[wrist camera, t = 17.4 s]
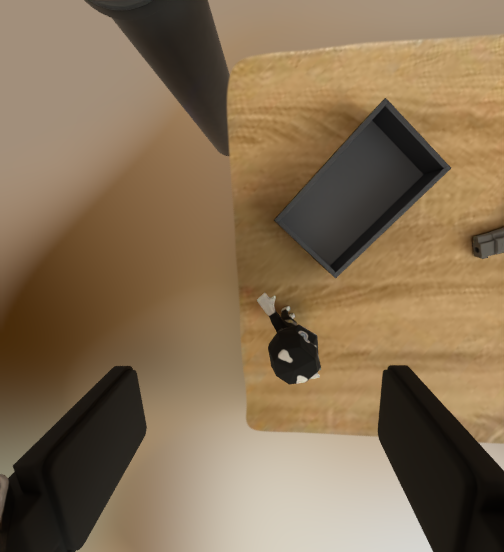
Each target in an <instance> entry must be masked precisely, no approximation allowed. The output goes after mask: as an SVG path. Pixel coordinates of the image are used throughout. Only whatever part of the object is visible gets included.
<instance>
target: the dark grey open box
mask: <svg viewBox="0 0 504 552" xmlns="http://www.w3.org/2000/svg"><path fill="white" fill-rule="evenodd" d="M450 169H451V167H450V166H449V165H448V164H447V163H446V162H445V161H444V160H443V159H442V158H441V157H440V155H439V154H438V153H437V152H436V151H435V150H434V149H433V148H432V147H431V146H430V145H429V144H428V143H427V142H426V141H425V139H424V138H423V137H422V136H421V135H420V134H419V133H418V132H417V131H416V130H415V129H414V128H413V127H412V126H411V124H410V123H409V122H408V121H407V120H406V119H405V118H404V117H403V116H402V115H401V114H400V113H399V112H398V111H397V110H396V108H395V107H394V106H393V105H392V104H391V103H390V102H389V101H388V100H387V99H386V98H385V99H384V100H383V101H382V102H381V103H380V104H379V105H378V106H377V107H376V108H375V109H374V110H373V111H372V113H371V114H370V115H369V116H368V117H367V118H366V119H365V120H364V121H363V122H362V124H361V125H360V126H359V127H358V128H357V129H356V130H355V131H354V132H353V133H352V135H351V136H350V137H349V138H348V139H347V140H346V141H345V142H344V143H343V144H342V146H341V147H340V148H339V149H338V150H337V151H336V152H335V153H334V154H333V155H332V157H331V158H330V159H329V160H328V161H327V162H326V163H325V164H324V165H323V167H322V168H321V169H320V170H319V171H318V172H317V173H316V174H315V175H314V176H313V178H312V179H311V180H310V181H309V182H308V183H307V184H306V185H305V186H304V187H303V189H302V190H301V191H300V192H299V193H298V194H297V195H296V196H295V197H294V198H293V200H292V201H291V202H290V203H289V204H288V205H287V206H286V207H285V208H284V209H283V211H282V212H281V213H280V214H279V215H278V216H277V217H276V218H275V219H274V221H275V222H276V223H277V224H278V225H279V226H281V227H282V228H283V229H284V230H285V231H286V232H287V233H288V234H289V235H290V236H291V237H292V238H293V239H294V240H295V241H296V242H298V243H299V244H300V245H301V246H302V247H303V248H304V249H305V250H306V251H307V252H308V253H309V254H310V255H311V256H312V257H313V258H314V259H316V260H317V261H318V262H319V263H320V264H321V265H322V266H323V267H324V268H325V269H326V270H327V271H328V272H329V273H330V274H331V275H333V276H334V277H335V278H337V277H338V276H339V275H340V274H341V273H342V272H343V271H344V270H345V269H346V268H347V267H348V266H349V265H350V264H351V263H352V262H353V261H354V260H355V259H356V258H358V257H359V256H360V255H361V254H362V253H363V252H364V251H365V250H366V249H367V248H368V247H369V246H370V245H371V244H372V243H373V242H374V241H375V240H376V239H377V238H379V237H380V236H381V235H382V234H383V233H384V232H385V231H386V230H387V229H388V228H389V227H390V226H391V225H392V224H393V223H394V222H395V221H396V220H397V219H398V218H399V217H401V216H402V215H403V214H404V213H405V212H406V211H407V210H408V209H409V208H410V207H411V206H412V205H413V204H414V203H415V202H416V201H417V200H418V199H419V198H420V197H422V196H423V195H424V194H425V193H426V192H427V191H428V190H429V189H430V188H431V187H432V186H433V185H434V184H435V183H436V182H437V181H438V180H439V179H440V178H441V177H443V176H444V175H445V174H446V173H447V172H448V171H449V170H450Z"/></svg>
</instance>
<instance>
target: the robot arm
mask: <svg viewBox="0 0 504 552" xmlns="http://www.w3.org/2000/svg"><path fill="white" fill-rule="evenodd" d="M146 428H147V427H146V421H145V415H144V410H143V404H142V400H141V394H140V388H139V383H138V378H137V373H136V371H135V370H133V368H132V367H131V366H115V367H113V368H112V369H111V370H110V371H109V372H108V373H107V374H106V375H105V376H104V377H103V378H102V379H101V380H100V381H99V382H98V383H97V384H96V385H95V386H94V387H93V388H92V389H91V390H90V391H89V392H88V393H87V394H86V395H85V396H84V397H82V399H80V400H79V401H78V402H77V403H76V404H75V405H74V406H73V407H72V408H71V409H70V410H69V411H68V412H67V413H66V414H65V415H64V416H63V417H62V418H61V419H60V420H59V421H58V422H57V423H56V424H55V425H54V426H53V427H52V428H51V429H50V430H49V431H48V432H47V433H46V434H45V435H44V436H43V437H42V438H41V439H40V440H39V441H38V442H37V443H36V444H35V445H33V446H32V447H31V449H29V451H27V452H26V453H25V454H24V455H23V456H22V457H21V458H20V459H19V460H18V461H17V462H16V463H15V464H14V465H13V468H14V471H15V472H14V473H13V474H12V475H11V476H10V477H9V478H7V477H6V476H5V475H1V474H0V552H75V551H76V550H79V549H80V548H81V547H82V546H83V545H84V543H85V542H86V540H87V538H88V536H89V534H90V533H91V531H92V529H93V527H94V526H95V524H96V522H97V520H98V518H99V517H100V515H101V513H102V511H103V509H104V507H105V506H106V504H107V502H108V501H109V499H110V497H111V495H112V494H113V492H114V490H115V488H116V486H117V485H118V483H119V481H120V479H121V478H122V476H123V474H124V472H125V470H126V469H127V467H128V465H129V463H130V462H131V460H132V458H133V456H134V454H135V453H136V451H137V449H138V447H139V446H140V444H141V442H142V440H143V438H144V436H145V434H146ZM378 436H379V440H380V442H381V445H382V447H383V449H384V451H385V453H386V455H387V457H388V459H389V461H390V463H391V465H392V467H393V469H394V472H395V474H396V476H397V477H398V480H399V482H400V484H401V486H402V488H403V490H404V492H405V494H406V496H407V498H408V501H409V503H410V505H411V507H412V509H413V511H414V513H415V515H416V517H417V519H418V521H419V523H420V525H421V527H422V529H423V532H424V534H425V536H426V538H427V540H428V542H429V544H430V546H431V548H432V550H433V552H504V471H503V470H502V468H501V467H500V466H499V465H498V464H497V463H496V462H495V461H494V460H493V458H492V457H491V456H490V455H489V454H488V453H487V452H486V451H485V450H484V449H483V448H482V446H481V445H480V444H479V443H478V442H477V441H476V440H475V439H474V438H473V437H472V435H471V434H470V433H469V432H468V431H467V430H466V429H465V428H464V427H463V426H462V424H461V423H460V422H459V421H458V420H457V419H456V418H455V417H454V416H453V415H452V413H451V412H450V411H449V410H448V409H447V408H446V407H445V406H444V405H443V404H442V403H441V402H440V401H439V400H438V398H437V397H436V396H435V395H434V394H433V393H432V392H431V391H430V390H429V389H428V387H427V386H426V385H425V384H424V383H423V382H422V381H421V380H420V379H419V378H418V376H417V375H416V374H415V373H414V372H413V371H412V370H411V369H410V368H409V367H408V366H406V365H390V366H389V367H388V369H387V370H384V371H383V377H382V388H381V399H380V411H379V422H378Z"/></svg>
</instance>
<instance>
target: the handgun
mask: <svg viewBox="0 0 504 552" xmlns="http://www.w3.org/2000/svg"><path fill="white" fill-rule="evenodd" d="M473 240H474V243H472V244H473V252H474V256H476V257H479V258H481V259H484V258H488V256H491V255H495V254H500V253H504V228H501V229H498V230H495V231H491V232H488V233H486V234H482V235H478V236H474V237H473Z"/></svg>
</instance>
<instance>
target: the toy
mask: <svg viewBox="0 0 504 552" xmlns="http://www.w3.org/2000/svg"><path fill="white" fill-rule="evenodd" d="M275 298H276V296H275V295H274V296H273V297H271V298H270V297H269V296H268V295H267V294H266V293H264V294H263V295H261V296H260V297H259V298H258V299H257V301H258V302H259V304H260V305H261V307H262V308H263V310H264V311H265V312H266V313H267V315H268V316H269V317H270V320H271V322H272V324H273V326H274V328H275V329H276V332H277V334H276V335H275V336H274V338H273V339H272V341H271V342H270V343H269V346H268V350H269V356H270V361H271V367H272V368H273V370H274V372H275V374H276V376H277V377H279V378H280V379H282V380H283V381H285V382H286V383H288V384H296V383H305V382H307V381H308V380H309V379H314V378H318V377H320V376H319V375H318V373H317V372H318V371H319V370H321V365H320V361H319V356H318V340H317V335H316V334H314V333H312V332H311V331H309V330H307V329H306V328H304V327H302V326H301V325H297V322H296V321H295V320H294V319H293V318H294V317H295V315H294V313H292V314H290V315H288V311H289V310H290V307H289V306H287V307H284V308H283V309H282V310H281V311H282V313H281V317H280V315H279V314H278V313H277V311H276V310H275V307H274V302H275Z"/></svg>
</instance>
